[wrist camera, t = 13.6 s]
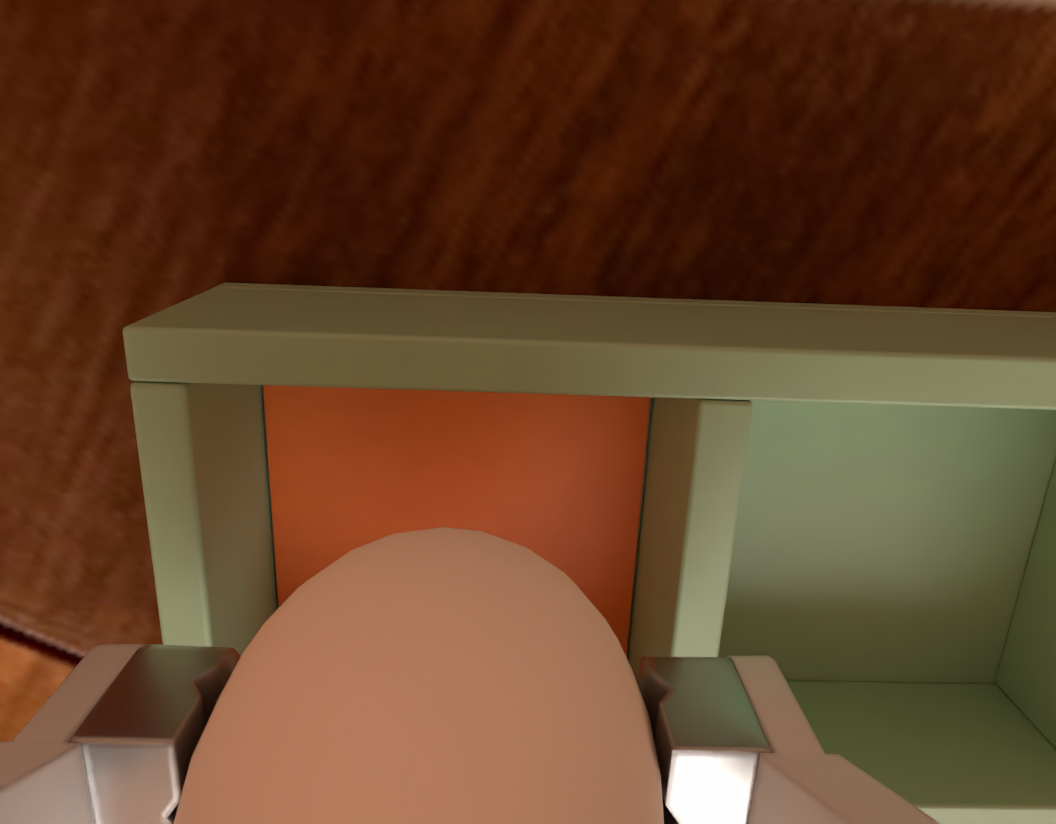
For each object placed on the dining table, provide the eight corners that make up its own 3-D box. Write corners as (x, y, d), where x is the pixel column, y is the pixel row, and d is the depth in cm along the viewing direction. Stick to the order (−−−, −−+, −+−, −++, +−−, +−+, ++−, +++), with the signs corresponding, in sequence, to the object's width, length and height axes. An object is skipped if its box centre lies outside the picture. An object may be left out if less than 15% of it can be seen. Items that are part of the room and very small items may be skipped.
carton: (222, 281, 13) (118, 325, 9) (1510, 327, 13) (1844, 384, 10) (278, 949, 17) (223, 1139, 14) (1230, 954, 18) (1393, 1135, 15)
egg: (671, 633, 12) (926, 1373, 5) (420, 776, 12) (300, 1605, 5) (497, 386, 10) (468, 878, 3) (227, 561, 11) (-275, 1274, 4)
